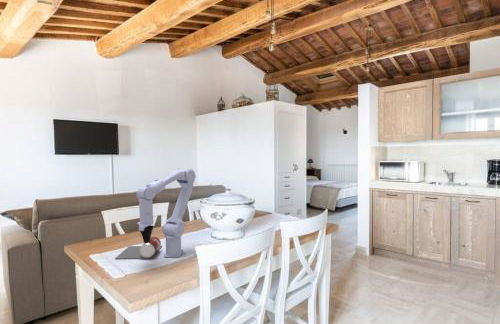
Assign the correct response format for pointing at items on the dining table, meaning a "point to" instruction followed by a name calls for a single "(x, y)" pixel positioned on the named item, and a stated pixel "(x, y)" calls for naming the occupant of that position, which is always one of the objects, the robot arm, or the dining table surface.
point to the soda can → (150, 247)
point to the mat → (133, 253)
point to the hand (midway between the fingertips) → (146, 242)
